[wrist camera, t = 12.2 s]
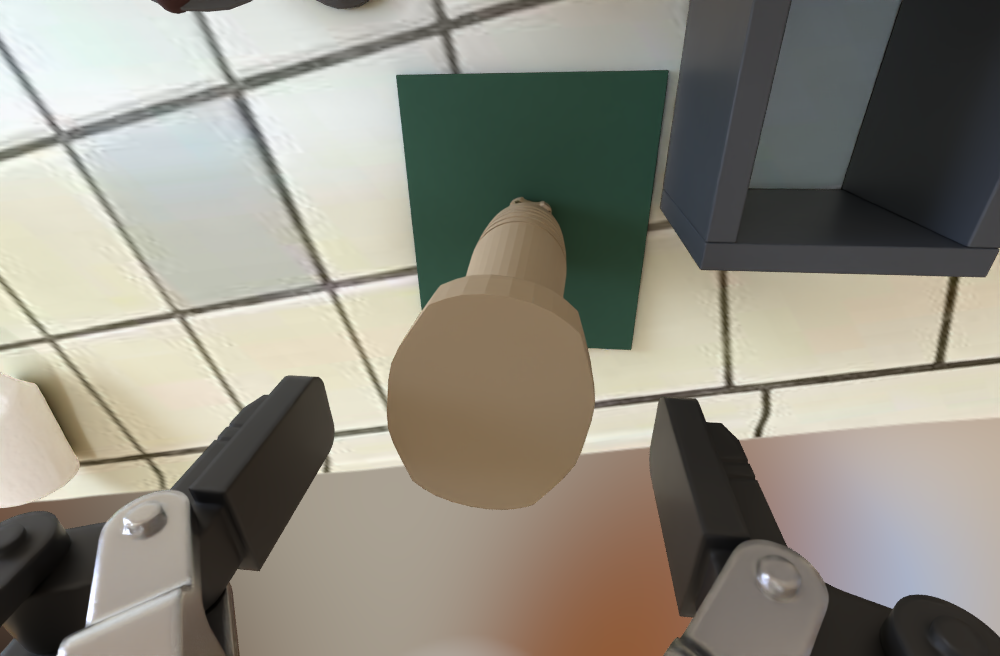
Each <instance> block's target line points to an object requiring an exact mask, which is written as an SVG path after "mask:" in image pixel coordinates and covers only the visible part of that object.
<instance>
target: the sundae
mask: <svg viewBox="0 0 1000 656" xmlns="http://www.w3.org/2000/svg"><path fill="white" fill-rule="evenodd" d="M152 1H154V2H156V3H158V4H159V5H161V6H162V7H163V8H164V9H165V10H167V11H169V12H172V13H177V14H179V13H184V12H186V11H205V12H210V11H220V10H230V9H233V8H235V7H238V6H241V5H243V4H246V3H248V2H251V1H252V0H152ZM317 1H319V2H321V3H323V4H325V5H328V6H331V7H334V8H338V9H344V8H353V7H359V6H361V5H363V4H364V3H366V2H368V1H369V0H317Z"/></svg>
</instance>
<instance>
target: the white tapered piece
mask: <svg viewBox="0 0 1000 656" xmlns="http://www.w3.org/2000/svg"><path fill="white" fill-rule="evenodd" d="M79 466H80V463H79V460H78V458H77V457H76V455H75V453H74V451H73V450H72V448H71V446H70V445H69V443H68V441H67V439H66V438H65V436H64V434H63V432H62V430H61V428H60V426H59V424H58V422H57V421H56V419H55V417H54V415H53V413H52V412H51V410H50V408H49V406H48V404H47V402H46V400H45V398H44V396H43V395H42V393H41V391H40V390H39V388H38V386H37V385H36V384H35V383H32V382H26V381H24V380H19V379H15V378H12V377H10V376H7V375H4V374H3V373H1V372H0V508H5V507H14V506H18V505H22V504H26V503H30V502H33V501H35V500H38V499H41V498H43V497H45V496H47V495H49V494H51V493H53V492H55V491H56V490H58V489H60V488H61V487H63V486H65V485H66V484H67V483H68V482H69V481H70V480H71V479H72V478H73V477H74V476H75V475H76V473H77V472H78V470H79Z"/></svg>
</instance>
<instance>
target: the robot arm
mask: <svg viewBox="0 0 1000 656" xmlns="http://www.w3.org/2000/svg"><path fill="white" fill-rule="evenodd" d="M333 441H334V423H333V419H332V415H331V411H330V407H329V403H328V399H327V395H326V391H325V387H324V383H323V381H322V380H321V378H319V377H308V376H286V377H284V378H283V379H282V380H281V382H280V383H279V384H278V385H277V386H276V387H275V389H274V390H273V391H272V392H271V393H270V394H269V395H263V396H261V397H260V398H258V399H257V400H255V401H254V402H252V403H251V404H249V405H248V406H246V407H244V408H243V409H242V410H241V412H240V413H239V414H238V415H237V416H236V417H235V418H234V419H233V420H232V421H231V423H230V426H229V427H226V428H225V429H224V430H223V431H222V433H221V434H220V435H219V436H218V439H217V440H214V441H213V443H212V444H211V445H210V446H209V447H208V448H207V449H206V450H205V451H204V452H203V454H202V455H201V456H200V457H199V458H198V459H197V460H196V461H195V462H194V464H193V465H192V466H191V467H190V468H189V469H188V470H187V471H186V472H185V474H184V475H183V476H182V477H181V478H180V479H179V480H178V481H177V482H176V483H175V485H174V486H173V487H172V488H171V489H170V490H161V491H156V492H152V493H149V494H146V495H144V496H141V497H139V498H137V499H135V500H133V501H131V502H130V503H128V504H126V505H125V506H124V507H122V508H121V509H119V510H118V511H117V512H116V513H115V514H114V515H113V516H112V517H111V518H110V519H109V520H108V521H107V522H103V523H98V524H92V525H87V526H81V527H76V528H70V529H64V528H63V526H62V525H61V523H60V522H59V520H58V519H57V518H56V516H55V515H53V514H52V513H50V512H45V511H35V512H28V513H24V514H20V515H17V516H14V517H12V518H9V519H7V520H5V521H3V522H0V627H1V626H3V627H4V628H5V629H6V630H7V631H8V632H9V633H10V634H11V635H12V636H13V637H14V639H13V640H12V641H11V643H10V644H9V645H8V646H7V647H6V648H5V649H4V650H3V652H2V653H1V654H0V656H239V646H238V638H237V628H236V619H235V610H234V601H233V592H232V588H231V585H230V583H229V581H230V580H231V578H232V577H233V575H234V574H235V572H236V570H237V569H243V570H253V571H260V569H261V568H262V566H263V564H264V562H265V561H266V559H267V557H268V556H269V554H270V552H271V550H272V549H273V547H274V545H275V544H276V542H277V540H278V538H279V537H280V535H281V534H282V532H283V530H284V528H285V527H286V525H287V523H288V522H289V520H290V518H291V516H292V515H293V513H294V511H295V510H296V508H297V506H298V505H299V503H300V501H301V500H302V498H303V496H304V494H305V493H306V491H307V489H308V488H309V486H310V484H311V482H312V481H313V479H314V477H315V476H316V474H317V472H318V471H319V469H320V467H321V466H322V464H323V462H324V460H325V459H326V457H327V455H328V454H329V452H330V450H331V448H332V445H333ZM649 461H650V474H651V479H652V484H653V489H654V494H655V499H656V503H657V508H658V513H659V518H660V523H661V527H662V533H663V538H664V542H665V547H666V552H667V557H668V561H669V567H670V571H671V576H672V581H673V586H674V591H675V596H676V601H677V605H678V610H679V615H680V616H683V617H693V619H692V621H691V622H690V624H689V626H688V627H687V629H686V631H685V632H684V634H683V635H682V637H681V638H678V637H677V638H676V639H675V640H674V641H673V642H672V644H671V645H670V647H669V648H668V649H667V651H666V653H665V654H664V656H1000V637H999V636H998V635H997V634H996V633H995V632H994V631H993V630H992V629H990V628H989V627H988V626H987V625H985V623H983V622H982V621H981V620H979V619H978V618H976V617H975V616H973V615H972V614H970V613H969V612H967V611H966V610H964V609H962V608H960V607H958V606H956V605H954V604H952V603H950V602H948V601H945V600H942V599H939V598H936V597H932V596H927V595H909V596H906V597H903V598H902V599H900V600H899V601H898V602H897V604H896V605H895V607H894V608H893V609H891V608H888V607H886V606H883V605H880V604H877V603H875V602H872V601H869V600H866V599H863V598H861V597H858V596H855V595H852V594H849V593H847V592H844V591H842V590H839V589H837V588H835V587H833V586H831V585H829V584H827V583H825V582H824V581H823V579H822V577H821V576H820V574H819V573H818V572H817V570H816V569H815V568H814V567H813V566H812V565H811V564H810V563H809V562H808V561H807V560H806V559H805V558H804V557H802V556H801V555H800V554H798V553H797V552H795V551H793V550H792V549H790V548H788V547H787V545H786V543H785V541H784V539H783V536H782V534H781V532H780V530H779V528H778V526H777V523H776V522H775V519H774V517H773V514H772V512H771V510H770V508H769V506H768V503H767V501H766V499H765V497H764V494H763V492H762V490H761V488H760V486H759V483H758V481H757V480H755V475H754V473H753V470H752V468H751V466H750V464H748V459H747V457H746V455H745V453H744V450H743V448H742V446H741V444H740V442H739V440H738V439H737V438H736V437H735V436H734V435H733V434H732V433H731V432H730V431H729V430H728V429H727V428H726V427H725V426H724V425H723V424H722V423H710V422H706V420H705V418H704V415H703V413H702V410H701V407H700V405H699V402H698V401H697V399H692V398H674V397H661V398H660V400H659V403H658V408H657V413H656V419H655V424H654V430H653V435H652V440H651V446H650V458H649Z"/></svg>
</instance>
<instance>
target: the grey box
mask: <svg viewBox="0 0 1000 656" xmlns="http://www.w3.org/2000/svg"><path fill="white" fill-rule="evenodd" d="M791 1H792V0H690V5H689V12H688V19H687V26H686V33H685V40H684V47H683V53H682V60H681V67H680V74H679V81H678V88H677V95H676V102H675V109H674V116H673V122H672V129H671V136H670V143H669V150H668V157H667V164H666V171H665V178H664V184H663V188H664V189H663V191H662V198H661V205H660V209H661V210H662V212H663V213H664V215H665V216H666V218H667V220H668V221H669V223H670V224H671V226H672V227H673V229H674V230H675V232H676V233H677V235H678V236H679V238H680V239H681V241H682V242H683V244H684V245H685V247H686V248H687V250H688V252H689V253H690V255H691V256H692V258H693V259H694V261H695V262H696V264H697V265H698V267H699V268H700V269H701V270H723V271H761V272H800V273H838V274H877V275H916V276H954V277H986V276H987V274H988V272H989V270H990V268H991V266H992V264H993V262H994V260H995V258H996V256H997V254H998V252H999V249H998V248H1000V0H903V1H902V4H901V7H900V10H899V13H898V16H897V19H896V23H895V26H894V29H893V32H892V35H891V38H890V41H889V44H888V47H887V50H886V53H885V57H884V60H883V63H882V66H881V69H880V72H879V75H878V78H877V81H876V84H875V87H874V91H873V94H872V97H871V100H870V103H869V106H868V109H867V112H866V115H865V118H864V121H863V125H862V128H861V131H860V134H859V137H858V140H857V143H856V146H855V149H854V152H853V155H852V159H851V162H850V165H849V168H848V171H847V174H846V177H845V180H844V183H843V186H842V189H843V190H801V189H748V187H749V183H750V179H751V174H752V170H753V166H754V161H755V157H756V153H757V148H758V144H759V140H760V135H761V131H762V127H763V122H764V118H765V114H766V109H767V105H768V101H769V96H770V92H771V88H772V83H773V79H774V75H775V70H776V66H777V61H778V57H779V53H780V48H781V44H782V40H783V35H784V31H785V27H786V22H787V18H788V14H789V9H790V5H791Z"/></svg>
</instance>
